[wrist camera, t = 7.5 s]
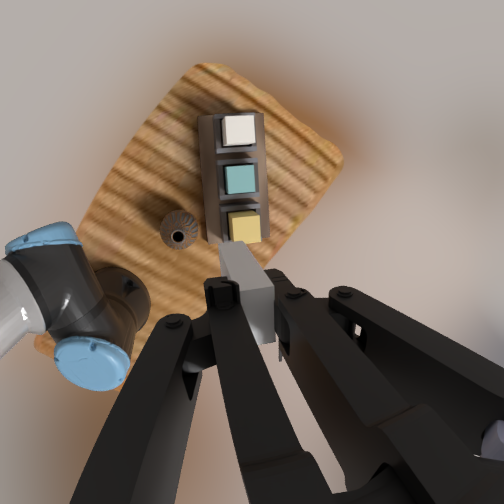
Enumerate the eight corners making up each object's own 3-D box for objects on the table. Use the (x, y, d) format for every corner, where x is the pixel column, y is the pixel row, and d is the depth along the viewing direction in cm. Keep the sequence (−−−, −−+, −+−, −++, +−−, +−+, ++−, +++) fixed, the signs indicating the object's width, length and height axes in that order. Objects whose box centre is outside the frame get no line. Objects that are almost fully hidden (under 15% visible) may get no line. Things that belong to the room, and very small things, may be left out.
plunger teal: (224, 191, 49) (228, 194, 44) (223, 166, 47) (226, 167, 43) (249, 188, 50) (255, 191, 45) (247, 164, 48) (253, 165, 43)
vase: (168, 202, 50) (163, 210, 42) (202, 213, 52) (205, 223, 44) (157, 236, 51) (152, 250, 43) (191, 247, 53) (191, 262, 45)
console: (207, 242, 54) (210, 250, 49) (197, 117, 46) (198, 112, 41) (267, 235, 56) (276, 242, 51) (261, 114, 48) (269, 109, 43)
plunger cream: (223, 146, 44) (226, 143, 40) (221, 121, 43) (225, 116, 38) (248, 144, 45) (255, 142, 40) (247, 120, 44) (253, 115, 39)
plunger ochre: (229, 237, 49) (234, 245, 45) (227, 212, 48) (232, 218, 43) (254, 234, 50) (260, 241, 46) (252, 210, 49) (259, 215, 44)
